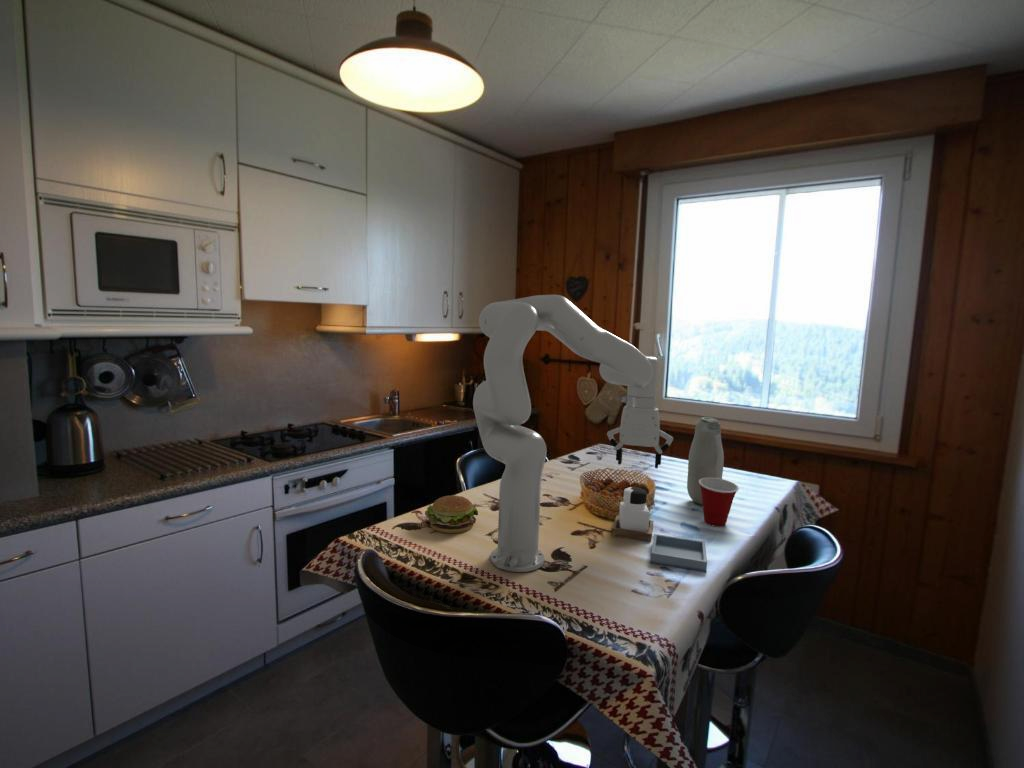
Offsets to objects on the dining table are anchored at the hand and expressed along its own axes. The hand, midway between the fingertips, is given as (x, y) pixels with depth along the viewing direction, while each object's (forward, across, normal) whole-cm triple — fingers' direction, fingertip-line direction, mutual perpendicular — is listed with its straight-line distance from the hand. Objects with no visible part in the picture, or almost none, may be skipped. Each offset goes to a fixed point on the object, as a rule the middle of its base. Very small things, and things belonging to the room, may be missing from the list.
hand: (638, 465), depth 142 cm
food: (+18, -47, -16) cm, 53 cm away
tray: (+18, +12, -12) cm, 25 cm away
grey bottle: (+19, +19, +32) cm, 42 cm away
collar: (+18, 0, 0) cm, 19 cm away
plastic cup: (+19, +22, +16) cm, 33 cm away
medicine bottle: (+19, 0, 0) cm, 19 cm away
